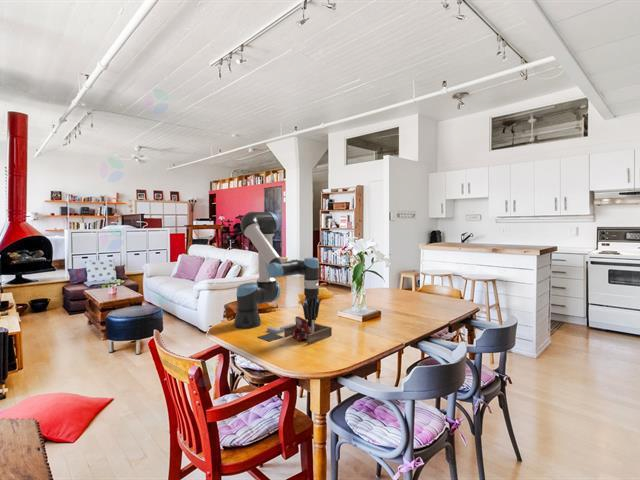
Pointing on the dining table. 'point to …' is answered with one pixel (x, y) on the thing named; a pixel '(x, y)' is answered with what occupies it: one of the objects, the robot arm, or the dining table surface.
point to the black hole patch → (269, 337)
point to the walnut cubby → (318, 334)
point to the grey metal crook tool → (285, 327)
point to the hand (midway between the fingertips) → (311, 332)
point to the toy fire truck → (301, 329)
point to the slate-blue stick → (273, 330)
